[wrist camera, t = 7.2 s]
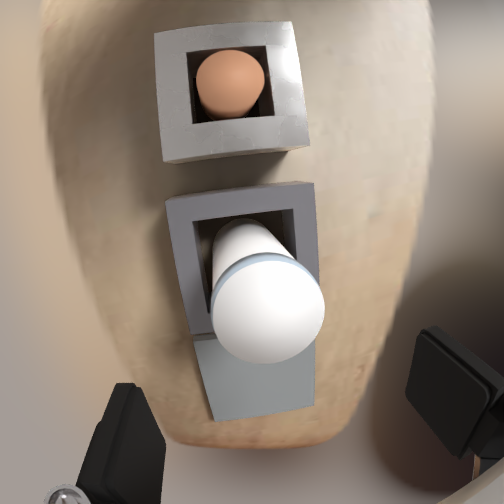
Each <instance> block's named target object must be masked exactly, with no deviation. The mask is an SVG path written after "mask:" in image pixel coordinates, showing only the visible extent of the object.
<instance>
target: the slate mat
mask: <svg viewBox="0 0 504 504" xmlns="http://www.w3.org/2000/svg"><path fill="white" fill-rule="evenodd" d="M193 344H194V348H195V352H196V356H197V360H198V363H199V367H200V371H201V375H202V378H203V382H204V386H205V389H206V393H207V396H208V400H209V403H210V407H211V410H212V413H213V417H214V420H215V422H218V421H227V420H236V419H243V418H250V417H257V416H263V415H269V414H275V413H280V412H285V411H290V410H295V409H300V408H305V407H309V406H313V405H314V392H315V338H314V340H313V341H312V342H311V343H310V345H308V346H307V347H306V348H305V349H304V350H303V351H301V352H300V353H299V354H297V355H295V356H293V357H291V358H289V359H287V360H284V361H281V362H277V363H271V364H256V363H250V362H246V361H244V360H241V359H239V358H237V357H235V356H234V355H232V354H231V353H229V352H228V351H227V350H226V349H225V348H224V347H223V346H222V344H221V343H220V341H219V340H218V338H217V336H216V334H215V333H214V334H206V335H197V336H194V337H193Z"/></svg>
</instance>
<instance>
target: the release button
mask: <svg viewBox="0 0 504 504" xmlns="http://www.w3.org/2000/svg"><path fill="white" fill-rule="evenodd" d="M196 83H197V89H198V93H199V98H200V102H201V106H202V109H203V111H204V112H205V113H206V115H207V116H208V117H210V118H211V119H213V120H215V121H222V120H231V119H241V118H244V117H245V116H247V115H248V113H249V112H250V111H251V109H252V107H253V105H254V104H255V102H256V100H257V98H258V97H259V95H260V93H261V91H262V89H263V86H264V73H263V70H262V68H261V66H260V64H259V63H258V62H257V61H256V60H255V59H254V58H253V57H252V56H250V55H249V54H247V53H244V52H241V51H237V50H224V51H220V52H217V53H214V54H213V55H211V56H209V57H208V58H207V59H206V60H204V62H203V63H202V64H201V66H200V67H199V69H198V72H197V77H196Z"/></svg>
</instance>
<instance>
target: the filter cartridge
mask: <svg viewBox="0 0 504 504" xmlns="http://www.w3.org/2000/svg"><path fill="white" fill-rule="evenodd" d="M324 311H325V308H324V300H323V296H322V293H321V290H320V287H319V285H318V283H317V282H316V280H315V279H314V277H313V276H312V275H311V274H310V273H309V271H308V270H307V269H306V268H305V267H304V266H303V265H302V264H301V263H299V262H298V261H296V260H295V259H294V258H293V257H292V256H291V255H290V253H289V252H288V251H287V250H286V249H285V248H284V247H283V246H282V245H281V244H280V242H279V241H278V240H277V239H276V238H275V237H274V236H273V235H272V234H271V233H270V231H269V230H268V229H267V228H266V227H265V226H264V225H263V224H261V223H260V222H258V221H256V220H253V219H248V218H240V219H235V220H232V221H230V222H228V223H227V224H225V225H224V226H223V227H222V228H221V229H220V230H219V231H218V233H217V235H216V237H215V239H214V243H213V292H212V296H211V322H212V326H213V329H214V331H215V334H216V336H217V338H218V340H219V341H220V343H221V344H222V346H223V347H224V348H225V349H226V350H227V351H228V352H229V353H231V354H232V355H234V356H235V357H237V358H239V359H241V360H244V361H246V362H250V363H256V364H271V363H277V362H281V361H284V360H287V359H289V358H291V357H293V356H295V355H297V354H299V353H300V352H301V351H303V350H304V349H305V348H306V347H307V346H308V345H310V343H311V342H312V341H313V340H314V338H315V337H316V336H317V334H318V332H319V330H320V328H321V325H322V323H323V319H324Z"/></svg>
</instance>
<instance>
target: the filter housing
mask: <svg viewBox="0 0 504 504" xmlns="http://www.w3.org/2000/svg"><path fill="white" fill-rule="evenodd" d="M165 205H166V212H167V218H168V225H169V231H170V237H171V242H172V248H173V254H174V259H175V264H176V270H177V275H178V280H179V285H180V290H181V294H182V299H183V304H184V308H185V313H186V317H187V321H188V326H189V330H190V334H191V335H194V334H202V333H210V332H215V331H214V329H213V326H212V322H211V296H212V292H209V291H208V286H207V280H206V274H205V268H204V262H203V256H202V249H201V243H200V236H199V230H198V223H197V221H198V220H205V219H212V218H220V217H227V216H235V215H243V214H250V213H259V212H267V211H275V210H281V211H282V223H283V234H284V246H285V249H286V250H287V251H288V252H289V253H290V255H291V256H292V257H293V258H294V259H295V260H296V261H298V262H299V263H301V264H302V265H303V266H304V267H305V268H306V269H307V270H308V271H309V273H310V274H311V275H312V276H313V277H314V279H315V280H316V282H317V283H318V285H319V260H318V239H317V221H316V206H315V193H314V183H310V182H302V181H292V182H282V183H271V184H262V185H253V186H244V187H236V188H228V189H220V190H213V191H206V192H198V193H192V194H185V195H179V196H173V197H171V198H170V199H168V200H166V201H165Z"/></svg>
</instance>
